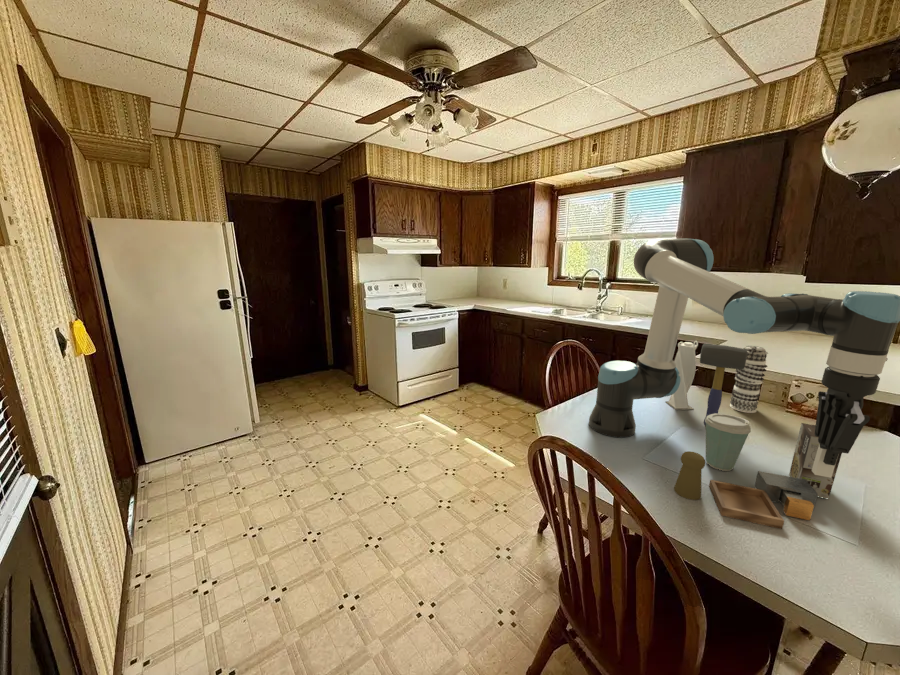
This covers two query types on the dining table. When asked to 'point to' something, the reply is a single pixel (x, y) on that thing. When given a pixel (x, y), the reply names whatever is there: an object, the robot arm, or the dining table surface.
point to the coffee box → (810, 461)
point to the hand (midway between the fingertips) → (821, 474)
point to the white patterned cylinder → (749, 380)
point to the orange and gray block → (795, 505)
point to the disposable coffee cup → (725, 439)
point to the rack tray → (745, 504)
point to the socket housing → (784, 486)
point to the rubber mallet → (720, 369)
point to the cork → (690, 476)
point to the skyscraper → (684, 375)
